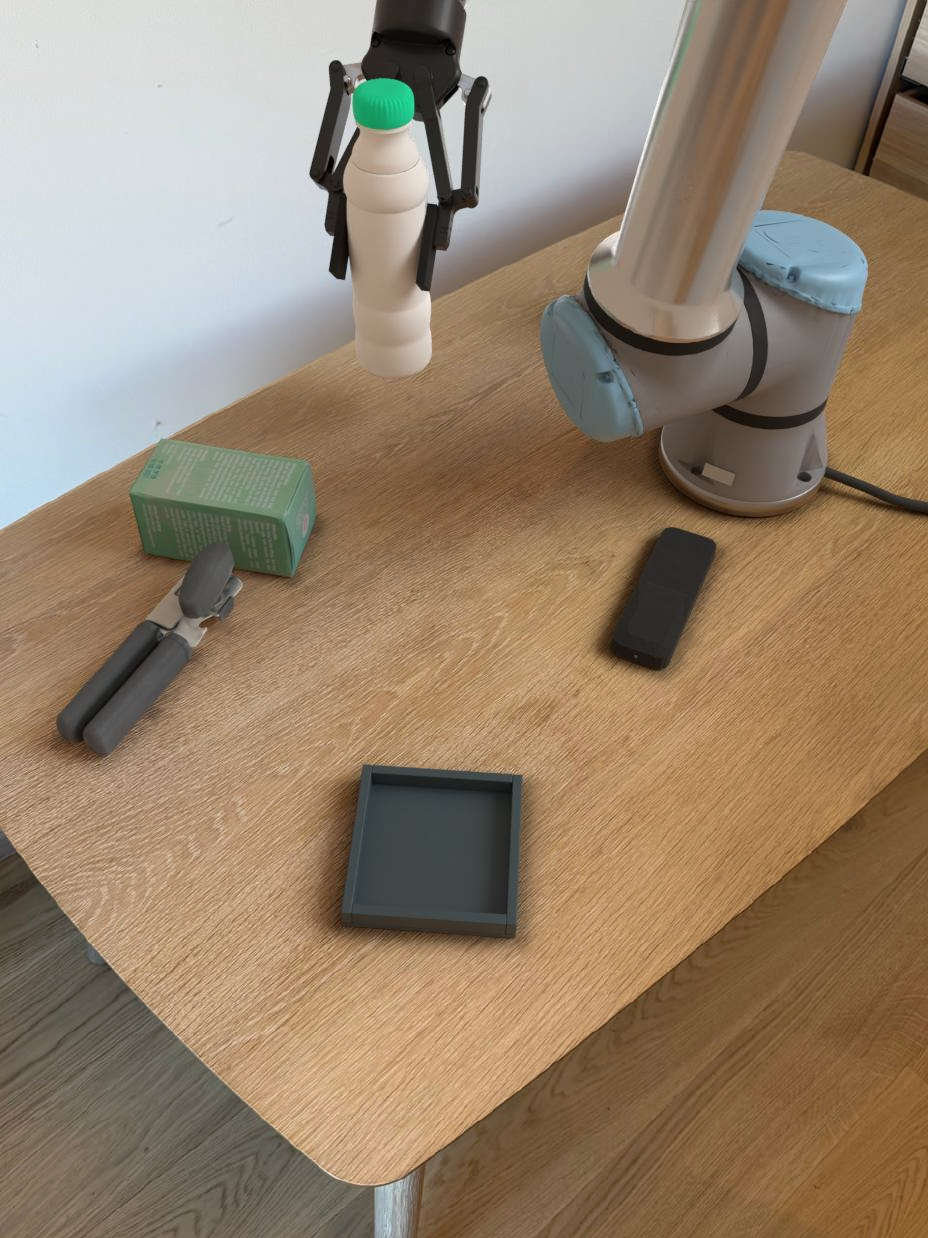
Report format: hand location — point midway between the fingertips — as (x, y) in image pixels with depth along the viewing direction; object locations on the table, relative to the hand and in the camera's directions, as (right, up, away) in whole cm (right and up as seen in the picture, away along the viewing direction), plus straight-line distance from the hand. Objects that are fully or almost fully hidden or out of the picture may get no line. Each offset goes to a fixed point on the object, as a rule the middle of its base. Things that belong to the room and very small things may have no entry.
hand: (379, 280), depth 93 cm
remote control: (+24, -27, -1) cm, 36 cm away
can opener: (-17, -32, -6) cm, 37 cm away
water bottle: (+1, -4, +10) cm, 11 cm away
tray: (+5, -45, -17) cm, 48 cm away
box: (-13, -22, +3) cm, 25 cm away
